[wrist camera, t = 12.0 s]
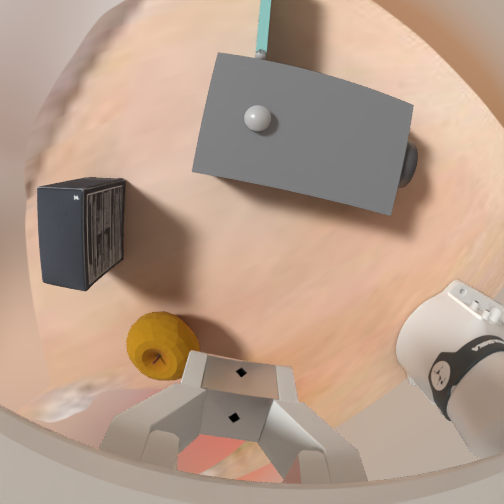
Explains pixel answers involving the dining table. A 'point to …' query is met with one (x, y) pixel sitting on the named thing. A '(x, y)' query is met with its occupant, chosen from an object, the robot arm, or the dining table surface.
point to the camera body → (305, 133)
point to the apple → (161, 345)
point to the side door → (263, 29)
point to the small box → (80, 230)
